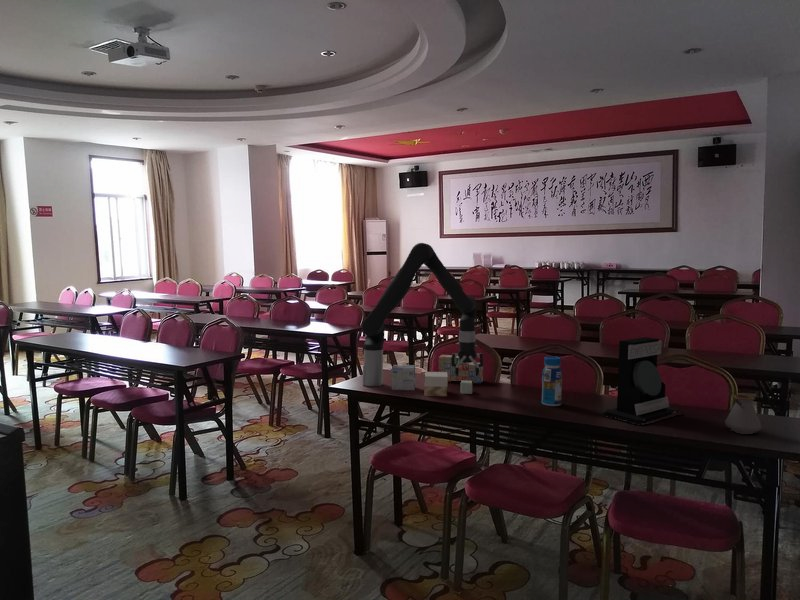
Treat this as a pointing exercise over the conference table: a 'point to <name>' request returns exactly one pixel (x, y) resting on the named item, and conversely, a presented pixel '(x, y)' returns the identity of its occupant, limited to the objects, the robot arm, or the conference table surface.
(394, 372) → the light bulb box
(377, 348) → the robot arm
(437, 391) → the oak block
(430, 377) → the cream block
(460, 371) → the stack of blocks
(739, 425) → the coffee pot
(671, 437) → the conference table surface
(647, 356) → the award
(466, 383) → the sage cube
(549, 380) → the beverage bottle
